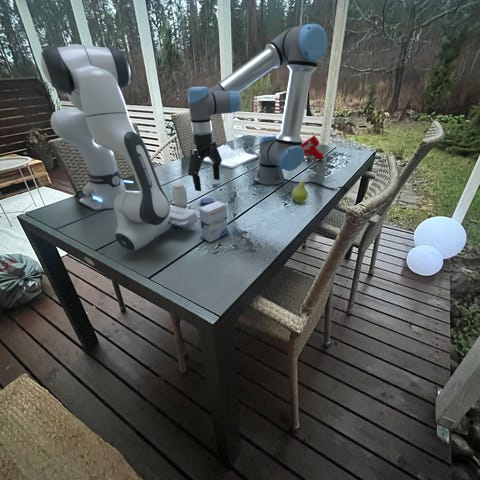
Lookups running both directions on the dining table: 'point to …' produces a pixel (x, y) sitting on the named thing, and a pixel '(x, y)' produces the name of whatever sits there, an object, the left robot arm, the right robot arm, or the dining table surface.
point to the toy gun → (311, 148)
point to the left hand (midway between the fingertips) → (182, 205)
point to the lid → (206, 201)
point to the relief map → (232, 157)
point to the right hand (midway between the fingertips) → (207, 184)
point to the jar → (179, 195)
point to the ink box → (213, 221)
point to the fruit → (300, 192)
